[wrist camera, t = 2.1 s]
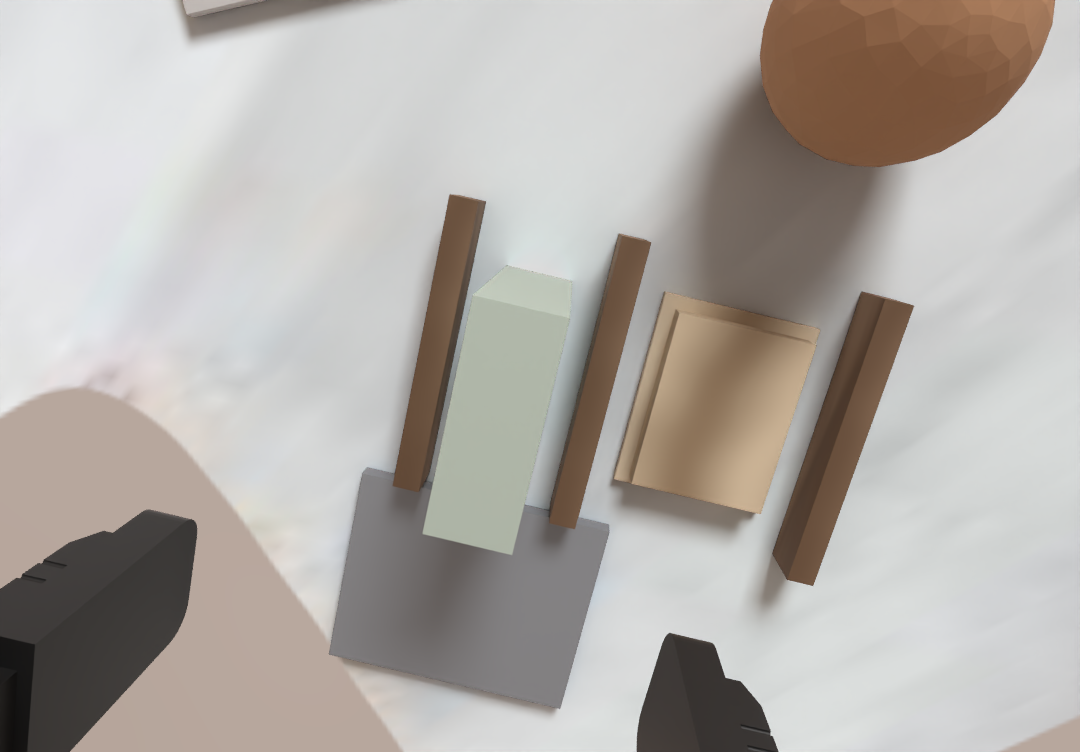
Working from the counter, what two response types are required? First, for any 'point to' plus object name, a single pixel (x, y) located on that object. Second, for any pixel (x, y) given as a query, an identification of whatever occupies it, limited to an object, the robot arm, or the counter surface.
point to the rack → (828, 451)
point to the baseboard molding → (213, 6)
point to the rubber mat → (465, 597)
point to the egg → (896, 71)
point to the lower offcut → (657, 349)
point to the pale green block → (498, 408)
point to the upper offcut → (720, 411)
